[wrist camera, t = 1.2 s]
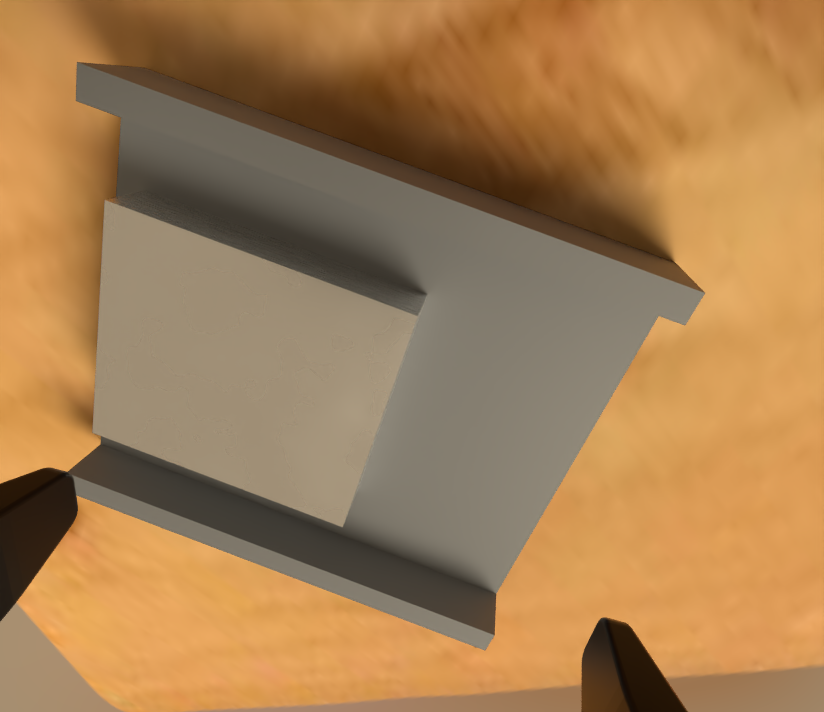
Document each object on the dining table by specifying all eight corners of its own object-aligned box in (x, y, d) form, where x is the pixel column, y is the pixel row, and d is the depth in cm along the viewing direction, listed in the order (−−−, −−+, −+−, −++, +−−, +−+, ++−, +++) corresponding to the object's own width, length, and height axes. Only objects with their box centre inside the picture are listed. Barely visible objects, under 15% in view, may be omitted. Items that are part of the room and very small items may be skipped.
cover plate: (427, 294, 18) (417, 316, 16) (356, 492, 22) (342, 527, 20) (144, 190, 18) (104, 199, 16) (126, 405, 22) (92, 432, 20)
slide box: (675, 262, 17) (705, 293, 15) (488, 590, 24) (485, 650, 22) (144, 67, 17) (76, 62, 15) (114, 448, 25) (65, 491, 22)
